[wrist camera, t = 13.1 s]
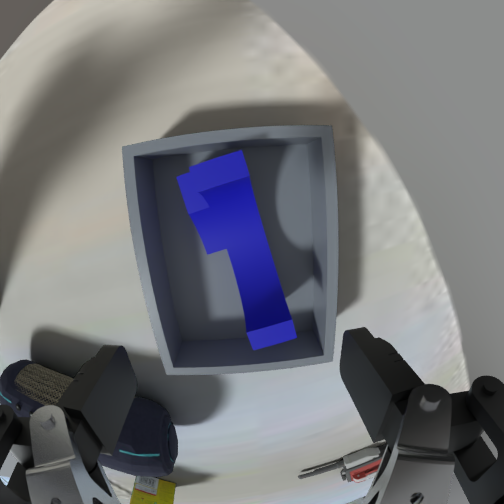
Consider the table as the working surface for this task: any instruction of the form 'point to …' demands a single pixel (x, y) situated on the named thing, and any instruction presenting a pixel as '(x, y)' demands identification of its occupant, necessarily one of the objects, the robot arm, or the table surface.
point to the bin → (218, 264)
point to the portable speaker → (133, 431)
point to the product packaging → (357, 501)
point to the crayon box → (152, 491)
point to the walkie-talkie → (355, 465)
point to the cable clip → (239, 242)
